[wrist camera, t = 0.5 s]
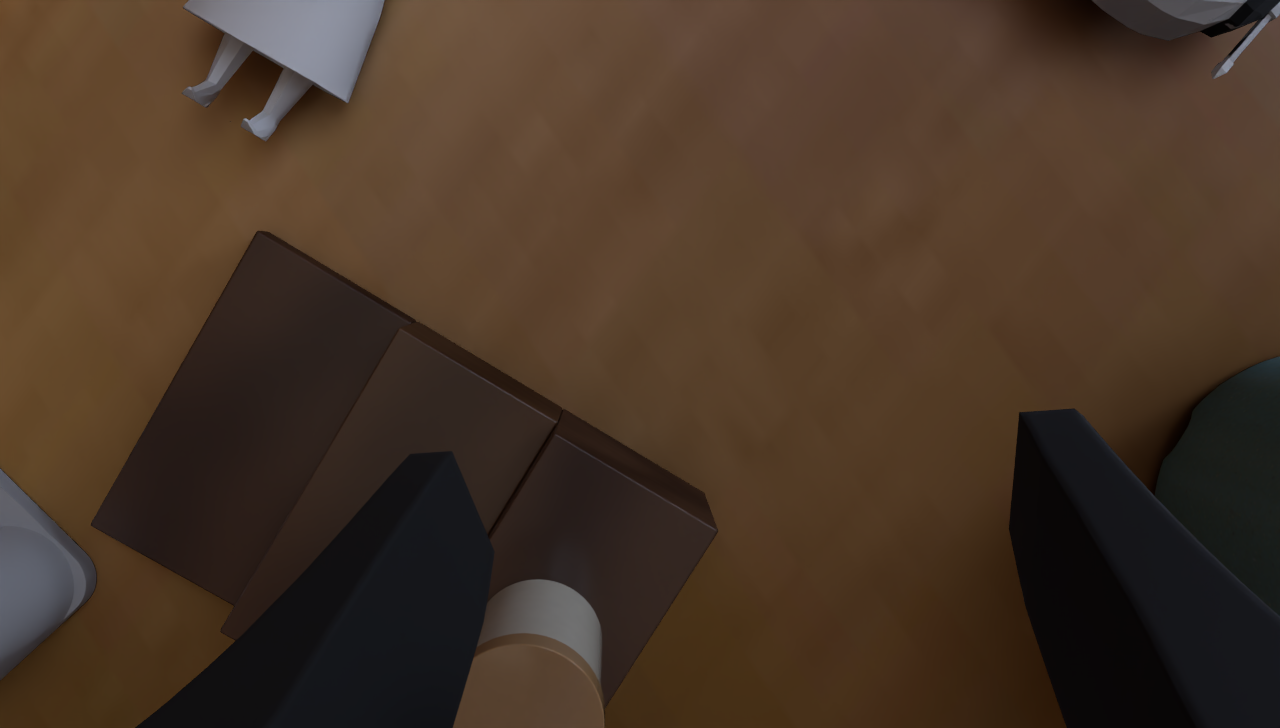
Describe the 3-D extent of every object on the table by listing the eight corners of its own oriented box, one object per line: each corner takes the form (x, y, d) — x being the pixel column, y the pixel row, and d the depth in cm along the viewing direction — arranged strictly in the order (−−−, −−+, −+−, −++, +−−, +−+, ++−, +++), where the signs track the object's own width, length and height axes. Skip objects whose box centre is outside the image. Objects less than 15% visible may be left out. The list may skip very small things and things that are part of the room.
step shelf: (704, 493, 36) (719, 530, 31) (535, 760, 37) (522, 838, 32) (267, 230, 34) (207, 225, 29) (103, 518, 35) (19, 560, 30)
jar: (585, 721, 31) (577, 820, 26) (453, 685, 31) (417, 778, 26) (623, 595, 31) (624, 669, 25) (490, 558, 31) (461, 625, 25)
